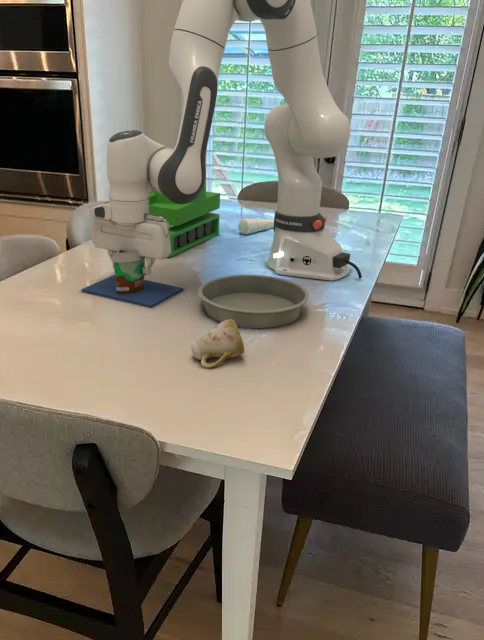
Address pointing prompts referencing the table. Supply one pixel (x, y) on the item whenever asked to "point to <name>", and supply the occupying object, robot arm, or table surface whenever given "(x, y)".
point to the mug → (219, 343)
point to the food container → (128, 272)
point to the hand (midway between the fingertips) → (132, 271)
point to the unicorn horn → (254, 225)
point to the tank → (187, 218)
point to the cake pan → (253, 300)
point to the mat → (146, 297)
